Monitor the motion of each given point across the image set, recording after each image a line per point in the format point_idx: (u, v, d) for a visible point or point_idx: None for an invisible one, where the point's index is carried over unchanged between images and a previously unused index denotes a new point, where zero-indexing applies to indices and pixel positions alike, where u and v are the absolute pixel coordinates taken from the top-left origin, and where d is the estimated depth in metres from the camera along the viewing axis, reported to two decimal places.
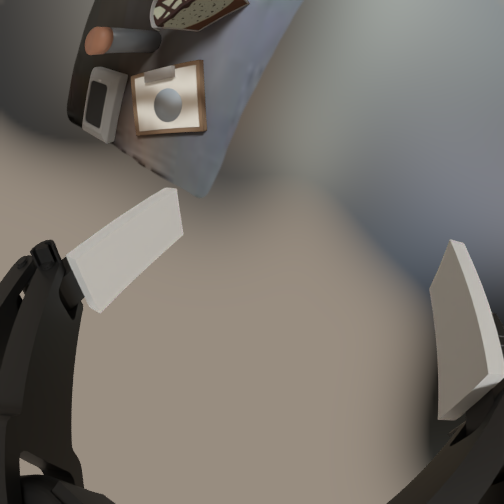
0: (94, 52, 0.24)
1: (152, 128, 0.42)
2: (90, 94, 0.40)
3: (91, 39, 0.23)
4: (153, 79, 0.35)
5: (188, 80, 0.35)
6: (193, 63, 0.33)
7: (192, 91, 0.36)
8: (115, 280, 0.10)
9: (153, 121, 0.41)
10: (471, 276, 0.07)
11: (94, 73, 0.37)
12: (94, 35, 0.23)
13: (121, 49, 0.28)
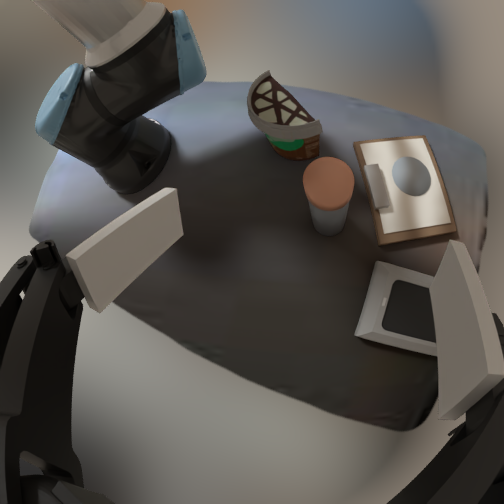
0: (350, 173, 0.22)
1: (442, 199, 0.29)
2: (404, 331, 0.27)
3: (324, 185, 0.23)
4: (384, 190, 0.31)
5: (378, 150, 0.33)
6: (358, 147, 0.34)
7: (389, 145, 0.33)
8: (115, 280, 0.10)
9: (434, 197, 0.30)
10: (471, 276, 0.07)
11: (369, 324, 0.29)
12: (318, 178, 0.23)
13: None
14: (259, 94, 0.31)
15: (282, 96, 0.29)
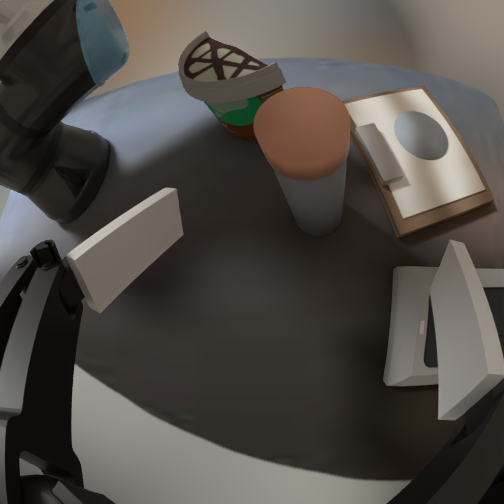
0: (339, 105, 0.11)
1: (468, 159, 0.19)
2: None
3: (295, 129, 0.11)
4: (390, 156, 0.20)
5: (370, 107, 0.23)
6: None
7: (383, 100, 0.22)
8: (115, 280, 0.10)
9: (457, 158, 0.19)
10: (471, 276, 0.07)
11: (404, 366, 0.16)
12: (282, 121, 0.12)
13: None
14: (195, 58, 0.20)
15: (224, 52, 0.19)
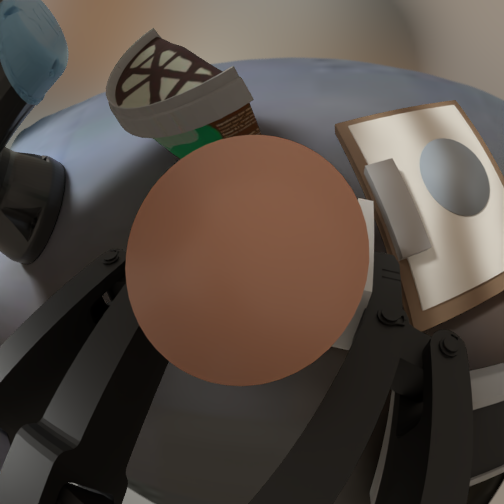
0: (343, 199, 0.04)
1: None
2: None
3: (210, 285, 0.05)
4: (415, 215, 0.14)
5: (386, 132, 0.16)
6: (346, 131, 0.17)
7: (404, 120, 0.16)
8: None
9: (500, 212, 0.12)
10: None
11: None
12: (182, 251, 0.05)
13: None
14: (133, 69, 0.14)
15: (168, 56, 0.12)
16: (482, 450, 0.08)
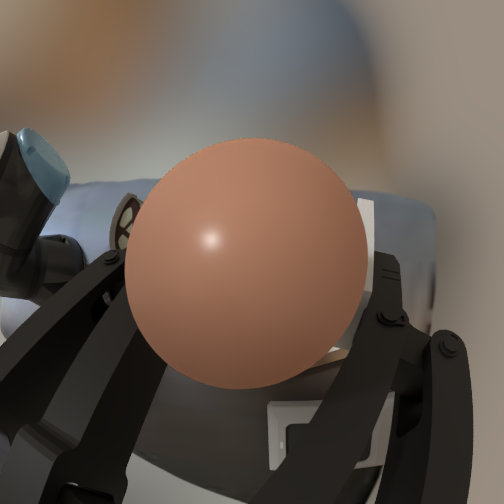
0: (342, 203, 0.04)
1: None
2: None
3: (209, 289, 0.05)
4: None
5: None
6: None
7: None
8: None
9: None
10: (364, 222, 0.10)
11: (274, 462, 0.24)
12: (181, 254, 0.05)
13: None
14: (122, 228, 0.29)
15: None
16: None
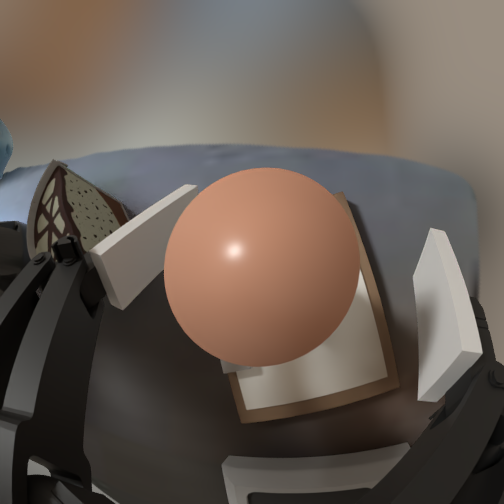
0: (341, 223, 0.06)
1: (373, 333, 0.16)
2: None
3: (238, 289, 0.06)
4: None
5: None
6: None
7: None
8: (138, 276, 0.10)
9: (354, 333, 0.17)
10: (449, 261, 0.08)
11: None
12: (215, 261, 0.06)
13: None
14: (43, 205, 0.18)
15: (56, 207, 0.17)
16: None
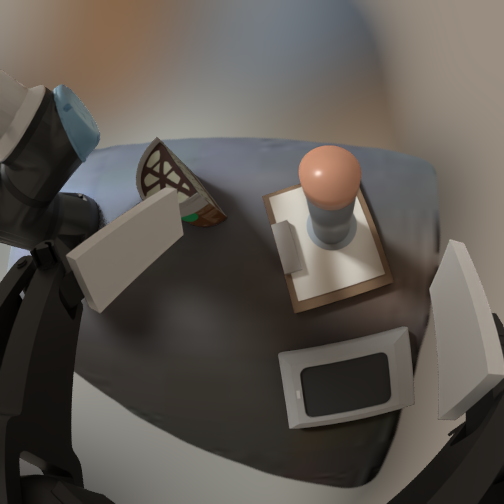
0: (354, 161, 0.18)
1: (373, 246, 0.29)
2: (335, 410, 0.25)
3: (326, 178, 0.18)
4: (294, 251, 0.30)
5: (290, 200, 0.33)
6: (267, 201, 0.34)
7: None
8: (115, 280, 0.10)
9: (362, 246, 0.29)
10: (471, 276, 0.07)
11: (294, 417, 0.26)
12: (317, 171, 0.19)
13: None
14: (148, 168, 0.30)
15: (168, 168, 0.29)
16: (347, 391, 0.25)
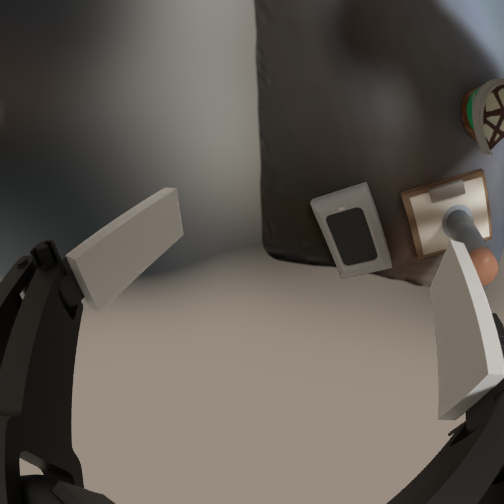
0: (484, 284, 0.23)
1: (441, 248, 0.36)
2: (334, 233, 0.42)
3: (480, 270, 0.23)
4: (443, 198, 0.31)
5: (478, 193, 0.29)
6: (479, 175, 0.28)
7: (482, 204, 0.29)
8: (115, 280, 0.10)
9: (442, 241, 0.36)
10: (471, 276, 0.07)
11: (321, 207, 0.40)
12: (485, 265, 0.22)
13: None
14: None
15: None
16: (349, 238, 0.41)
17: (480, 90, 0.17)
